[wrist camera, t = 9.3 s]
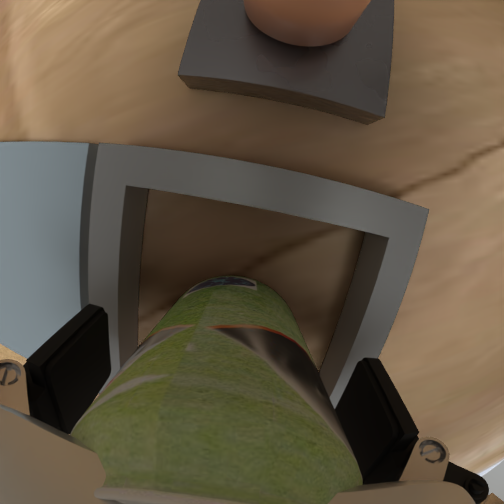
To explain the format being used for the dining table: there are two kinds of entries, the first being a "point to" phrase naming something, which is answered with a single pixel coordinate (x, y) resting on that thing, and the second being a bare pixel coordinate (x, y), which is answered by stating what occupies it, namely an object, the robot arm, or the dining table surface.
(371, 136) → the dining table surface
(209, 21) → the button base
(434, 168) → the dining table surface
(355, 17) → the button
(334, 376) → the frame
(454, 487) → the robot arm
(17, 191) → the mat
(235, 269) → the dining table surface
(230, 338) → the beverage can
